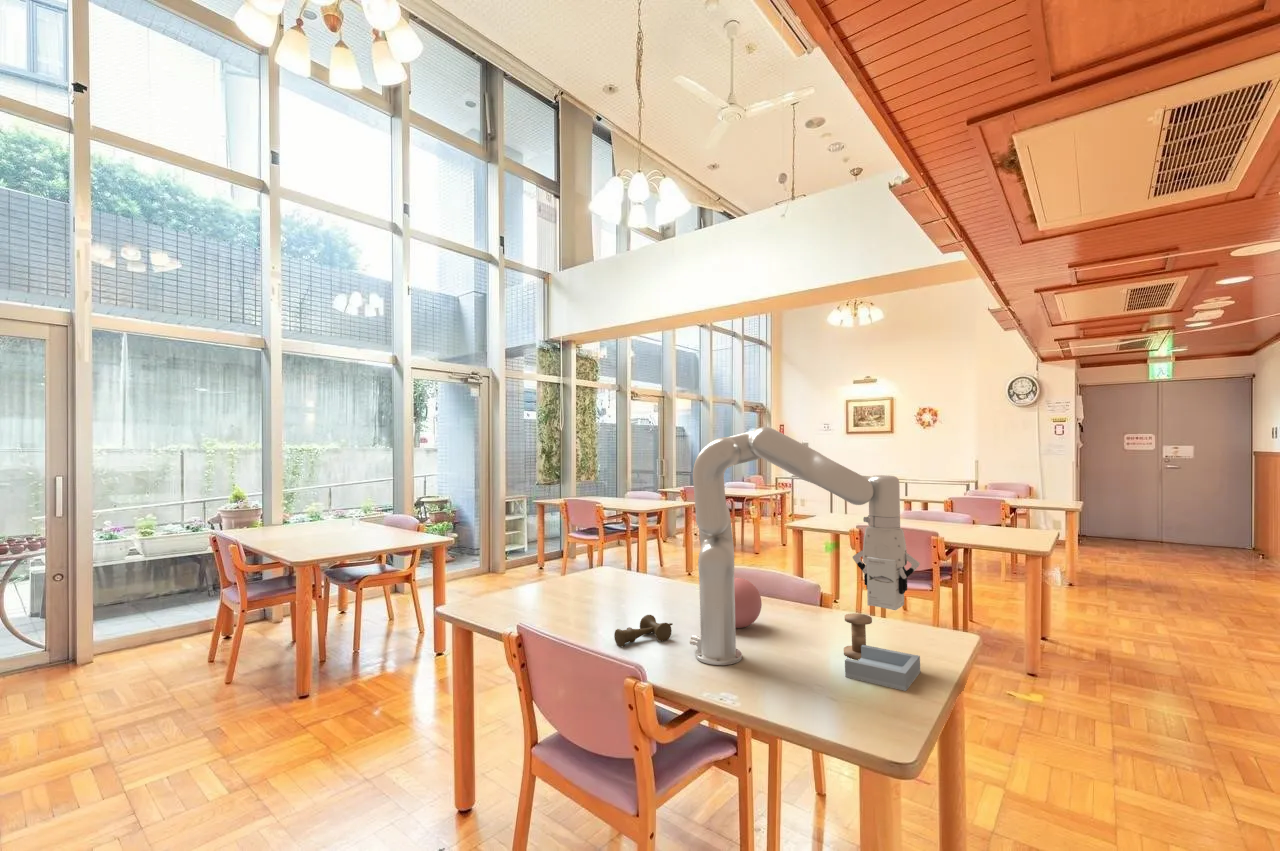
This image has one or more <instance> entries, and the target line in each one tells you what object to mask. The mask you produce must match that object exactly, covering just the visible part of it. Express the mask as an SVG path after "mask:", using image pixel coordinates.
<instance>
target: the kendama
mask: <svg viewBox="0 0 1280 851" xmlns="http://www.w3.org/2000/svg"><path fill="white" fill-rule="evenodd" d="M672 626H673V623H672V622H669V623H668V622H662V623H658V622H657V620H656V617H655V616H654V615H652V614H646V615H644V616H643V617H642V618H641V620H640V622H639V628H632V627H627V628H626V629H620V628H617V629H615V631H614V641H615V644H616V645H617V646H618V647H619V648H623V647H624V646H625V644H627V643H632V644H633V643H635V642H636V640H637V639H638V638H641V637H643V636H645V635H650V634H654V635H655V637H656V640H657V641H658V642H660V643H662V642H666V641H668V640H669V639H670V638H671V635H672Z"/></svg>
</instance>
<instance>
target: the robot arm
mask: <svg viewBox="0 0 1280 851" xmlns="http://www.w3.org/2000/svg"><path fill="white" fill-rule="evenodd" d="M759 459H763V460H765V461H766V462H769V463H771V464H772V465H775V466H776V467H779V469H782V470H783V471H785V472H788V473H789V474H791V475H793V476H795V477H797V478H798V479H801V480H803V481H805V482H808V483H811V484H813V485H815V486H818V487H819V488H822V489H823V490H826V491H827V492H829V493H831V494H833V495H834V496H837V497H839V498H840V499H842V500H844V501H846V502H847V503H849V504H852V505H856V506H861V505H865V504H867V503H868V516H864V517H863V522H864V523H867V524H868V526H866V527H865V530H864V536H863V546H862V547H863V548H862V550H860V551H859V552H857V553H855V554H854V555H853V556H852V559H853V561H854V562H855V563H856V564H857V566H858V568H859V569H860V570H861V571H862V573H863V575H864V586H866V589H867V557H872V558H882V559H890V560H896V562H897V569H899V574H900V575H901V578H900V579H899V593H900V594H904V595H905V592H906V591H908V577H910V575H912V574H913V573H914V572H915V571H916V570H917V569H918V567H920V565H921V563H920V562H919V561H918V560H917V559H915V557H913V556H911V555H910V554H909V553H908V551H907V550H908V549H907V544H906V543H907V542H906V537H905V532H904V529H903V528H901V503H900V502H901V501H900V500H901V498H900V495H901V493H900V491H901V490H900V480H899V478H898V477H897V476H895V475H887V474H886V475H882V474H881V475H880V474H879V475H876V474H875V475H872V476H871V475H870V476H869V475H862V474H860V473H858V472H855V471H853V469H850V468H848V467H846V466H844V465H841V464H840V463H838V462H836V461H834V460H832V459H830V458H829V457H827V456H825V455H823V454H822V453H820V452H819V451H817V450H815V449H813V448H811V447H809V446H807V445H805V444H803V443H801V442H800V441H797V440H796V439H793V438H791V437H790V436H788V435H786V434H783V432H780V431H778V430H776V429H775V428H773V427H769V426H760V427H758V428H757V429H754V430H750V431H747V432H742V433H738V434H736V435H734V434H733V435H731V436H723V437H718V438H716V439H714V440H712V441H711V442H709V443H708V444H707V445H705V446H704V447H703V448H702V449H701V451H700V452H699V453H698V455H697V456H696V459H695V461H694V464H693V470H692V480H693V481H692V482H693V494H694V495H693V496H694V497H693V498H694V507H695V523H696V526H697V527H698V532H699V533H698V534H699V542H700V550H699V553H698V560H697V561H698V563H697V565H698V580H699V582H698V583H699V615H700V617H699V618H700V620H699V621H700V623H699V624H700V636H698V635H695V634H692V635H691V636H690V640H689V644H690V645H692V646H696V647H697V648H696V649H695V650H696V651H695V654H694V656H695V658H696V660H697V661H700V662H701V663H704V664H707V665H711V666H712V665H713V666H728V665H734V664H737V663H739V662H740V661H741V660H742V658H743V653H742V651H741V650H740V649H738V648H737V640H736V638H737V635H736V632H737V631H736V629H737V628H735V588H734V578H735V546H734V539H733V530H732V521H731V520H732V519H731V512H730V508H729V507H728V505H727V502H726V501H727V500H726V499H727V498H726V490H725V489H726V488H725V487H726V486H725V478H724V477H725V472H726V470H727V469H728V468H731V467H733V466H736V465H737V466H738V465H740V464H745V463H749V462H753V461H756V460H759ZM861 558H862V559H861ZM908 563H910V564H911V565H910V567H909V568H908V569H906V567H905V566H907V564H908Z"/></svg>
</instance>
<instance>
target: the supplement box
mask: <svg viewBox="0 0 1280 851" xmlns="http://www.w3.org/2000/svg"><path fill="white" fill-rule="evenodd" d="M900 578H901V575H900V574H899V569H897V562H896V560H890V559H882V558H872V557H867V588H866V590H867V593H866V594H867V601H866V602H867V606H869V607H870V606H871V607H872V606H873V607H876V608H881V609H887V610H893V611H897V610H899V609H900V608H901V607H903V606H905V593H904V594H900V593H899V579H900Z"/></svg>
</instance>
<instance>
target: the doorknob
mask: <svg viewBox="0 0 1280 851" xmlns="http://www.w3.org/2000/svg"><path fill="white" fill-rule="evenodd" d="M844 622H847V623H848V624H851V645H847V646H845V647H843V655H844V656H845V657H846V656H847V658H848V657H849V658H848V659H851V658H852V659H851V660H855V659H861V646H862V645H867V637H866V636H867V634H866V632H867V631H866V625H872V623H873V617H872V616H870V615H868V614H863V613H856V612H855V613H846V614H845V615H844Z"/></svg>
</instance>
